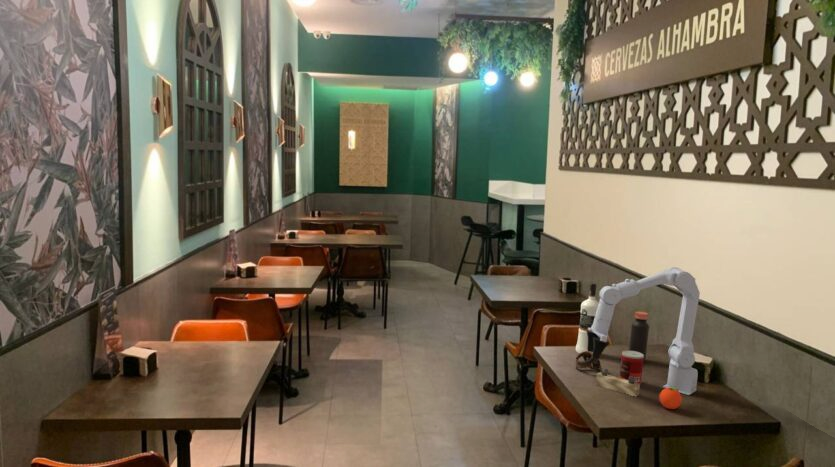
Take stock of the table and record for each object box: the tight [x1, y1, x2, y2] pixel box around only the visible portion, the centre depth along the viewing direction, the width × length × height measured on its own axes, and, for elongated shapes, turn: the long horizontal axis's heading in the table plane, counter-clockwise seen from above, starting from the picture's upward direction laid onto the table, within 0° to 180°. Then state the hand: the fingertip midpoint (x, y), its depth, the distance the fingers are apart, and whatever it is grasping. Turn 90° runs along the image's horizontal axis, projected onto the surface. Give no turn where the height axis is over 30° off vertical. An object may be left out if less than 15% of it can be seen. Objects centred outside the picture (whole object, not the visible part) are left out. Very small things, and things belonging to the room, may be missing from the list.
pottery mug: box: [574, 351, 602, 373], centre depth 243 cm, size 12×10×8 cm
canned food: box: [618, 350, 644, 385], centre depth 230 cm, size 8×8×11 cm
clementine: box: [658, 387, 683, 410], centre depth 208 cm, size 8×7×7 cm
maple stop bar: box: [594, 368, 641, 398], centre depth 222 cm, size 15×3×6 cm, turn 48°
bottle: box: [628, 311, 650, 363], centre depth 257 cm, size 7×7×20 cm
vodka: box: [575, 282, 599, 354], centre depth 262 cm, size 9×9×30 cm
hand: (592, 354), depth 227 cm, fingers open, 7 cm apart
